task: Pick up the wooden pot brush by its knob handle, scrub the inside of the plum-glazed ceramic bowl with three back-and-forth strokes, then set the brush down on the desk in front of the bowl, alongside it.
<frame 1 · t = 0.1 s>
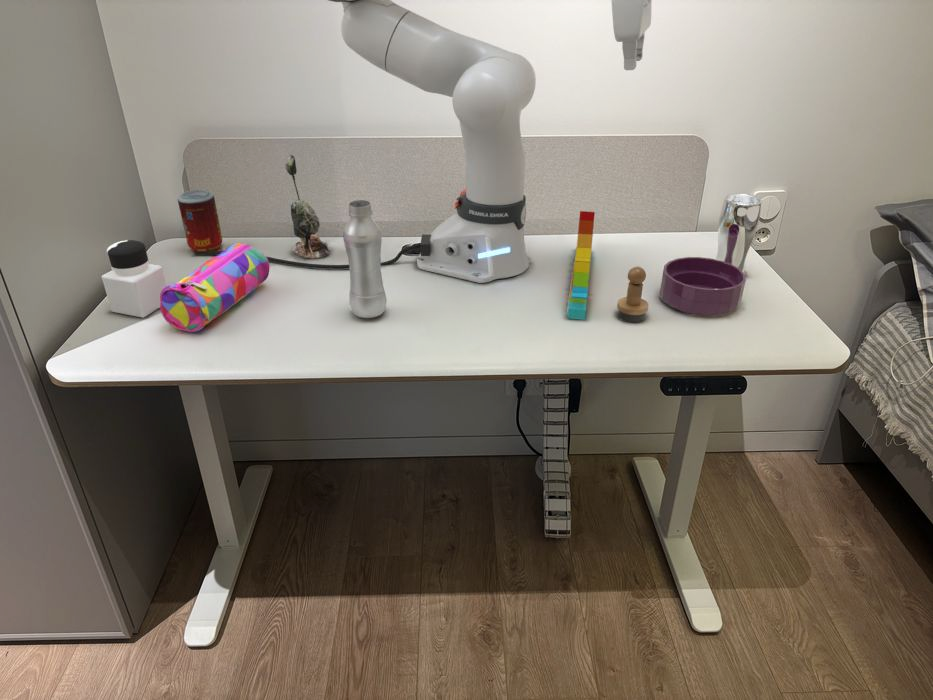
hand: (633, 64, 114), 39 cm above the table, tool pointing down, fingers open, 8 cm apart
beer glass: (727, 274, 137), on the table
bowl: (698, 300, 126), on the table
plant with pod: (311, 254, 146), on the table
medicine bottle: (141, 307, 125), on the table
soda can: (206, 250, 147), on the table
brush: (631, 316, 121), on the table
pencil case: (222, 309, 124), on the table
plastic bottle: (369, 314, 122), on the table
chart: (579, 283, 133), on the table
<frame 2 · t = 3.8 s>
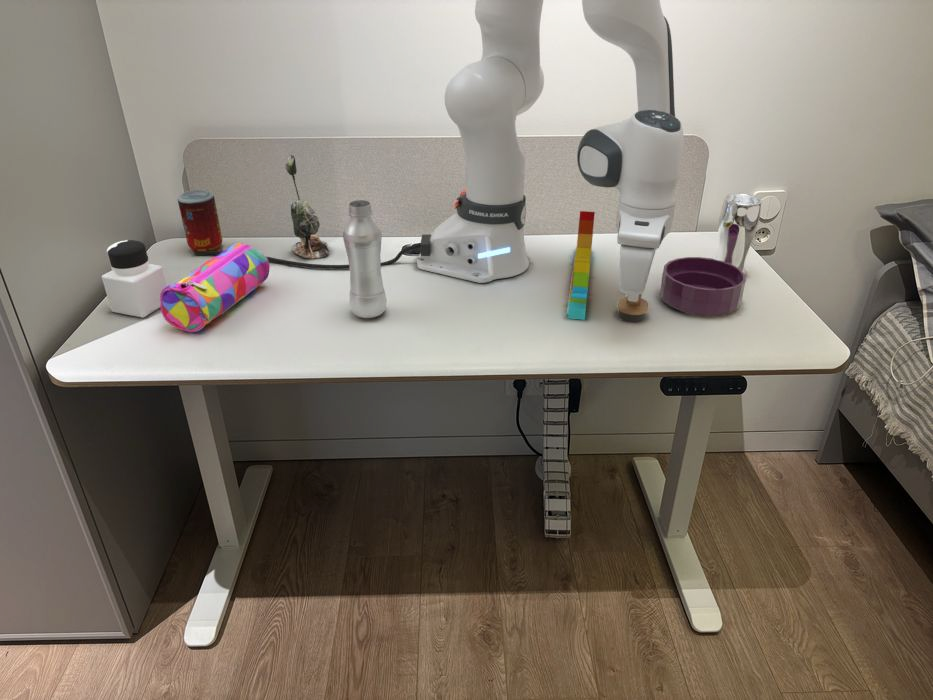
hand: (634, 295, 119), 4 cm above the table, tool pointing down, fingers closed on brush, 2 cm apart
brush: (631, 316, 121), on the table, touching gripper
everything else where it was.
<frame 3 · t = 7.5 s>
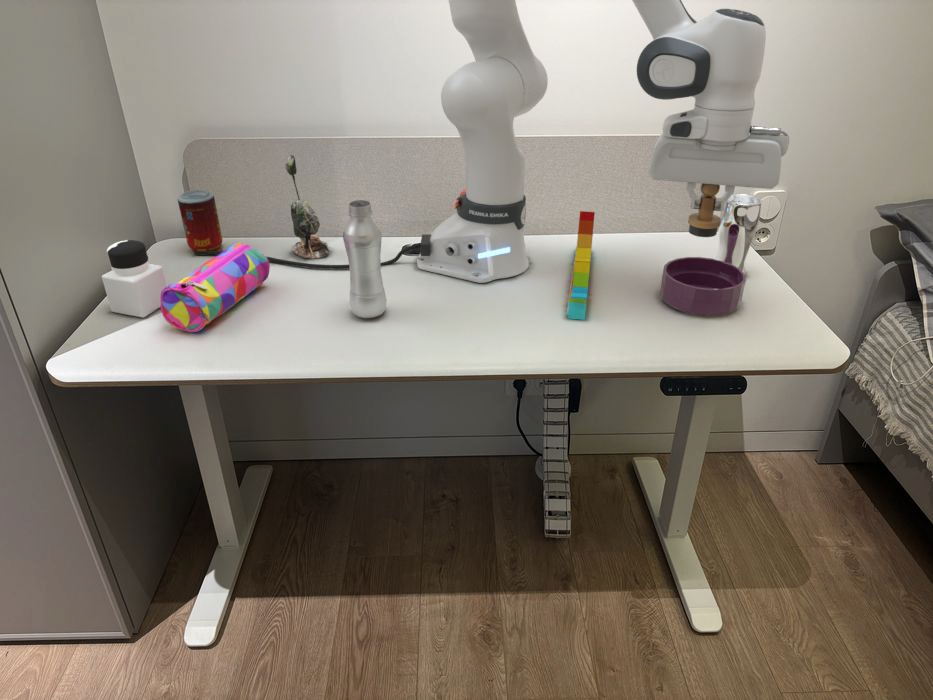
hand: (706, 209, 116), 18 cm above the table, tool pointing down, fingers closed on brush, 2 cm apart
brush: (702, 232, 118), point 14 cm above the table, touching gripper
everything else where it was.
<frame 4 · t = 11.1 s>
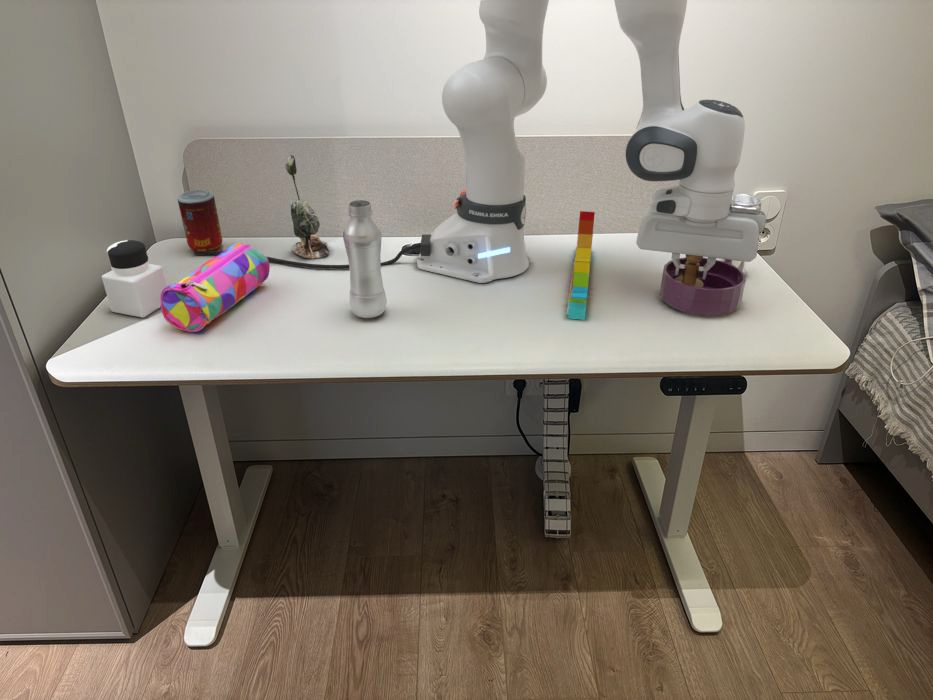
hand: (689, 276, 125), 4 cm above the table, tool pointing down, fingers closed on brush, 2 cm apart
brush: (685, 295, 127), point 1 cm above the table, touching gripper
everything else where it was.
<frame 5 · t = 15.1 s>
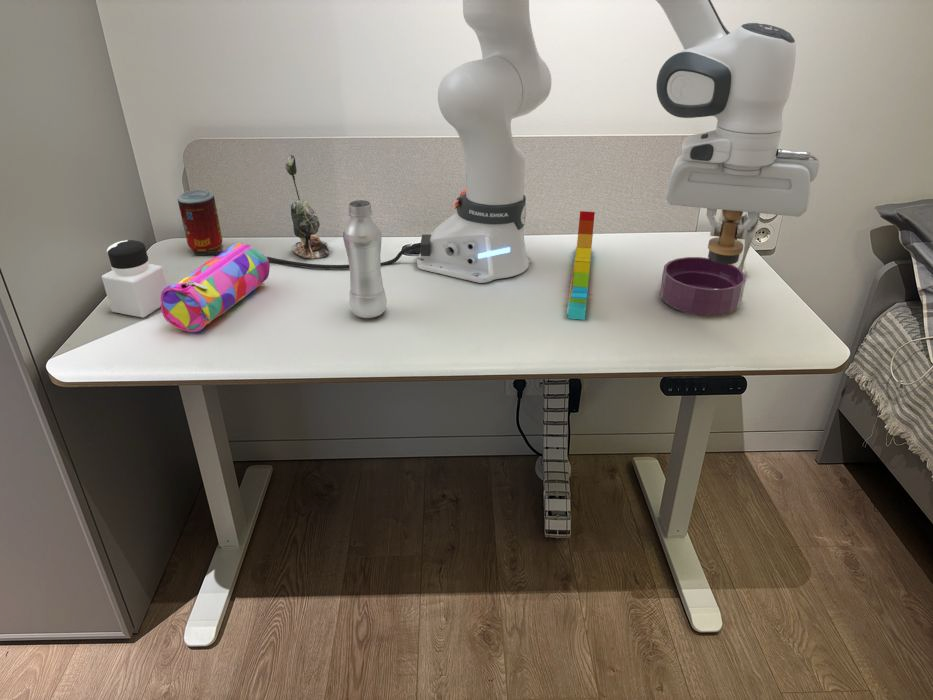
hand: (727, 236, 108), 17 cm above the table, tool pointing down, fingers closed on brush, 2 cm apart
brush: (722, 258, 110), point 13 cm above the table, touching gripper
everything else where it was.
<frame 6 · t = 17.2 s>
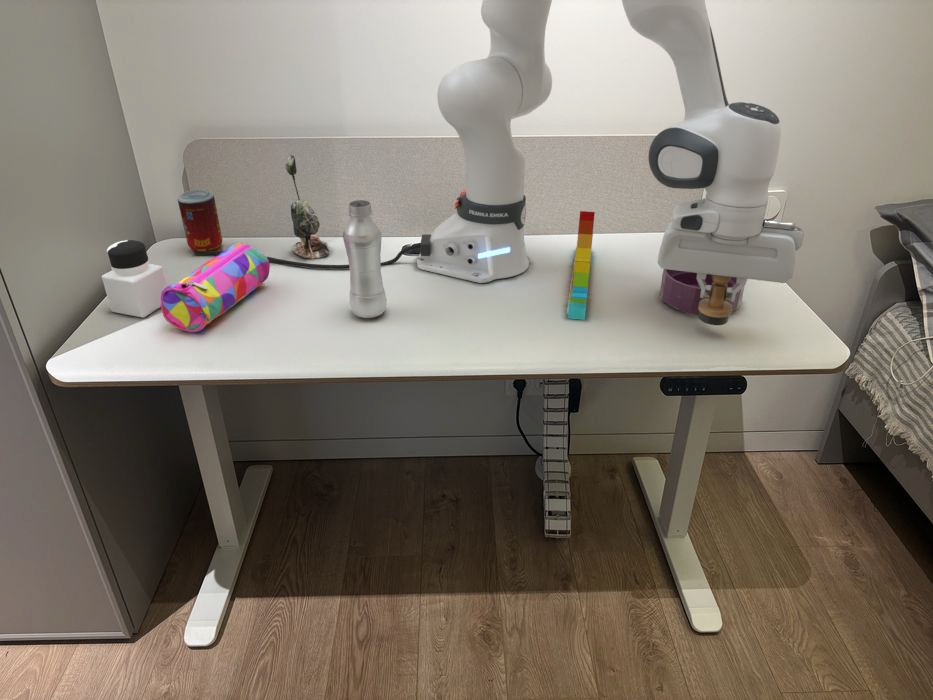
hand: (716, 298, 113), 6 cm above the table, tool pointing down, fingers closed on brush, 2 cm apart
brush: (712, 318, 114), point 3 cm above the table, touching gripper
everything else where it was.
when the fingers open (4 cm above the table, at t = 18.3 s): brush stays where it is, on the table.
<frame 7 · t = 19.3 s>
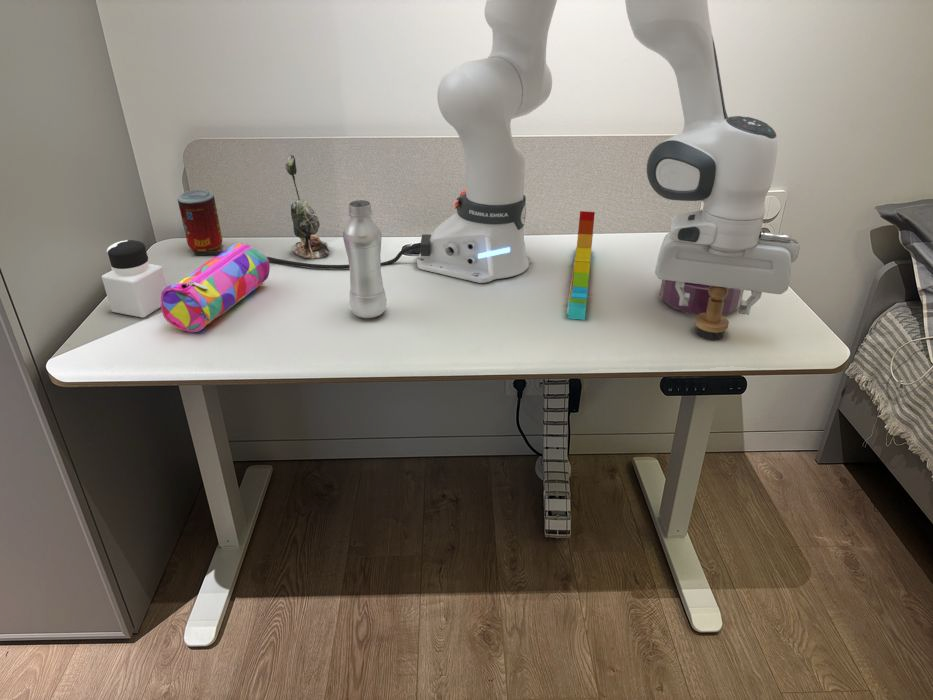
hand: (713, 308, 114), 5 cm above the table, tool pointing down, fingers open, 8 cm apart
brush: (709, 333, 116), on the table
everything else where it was.
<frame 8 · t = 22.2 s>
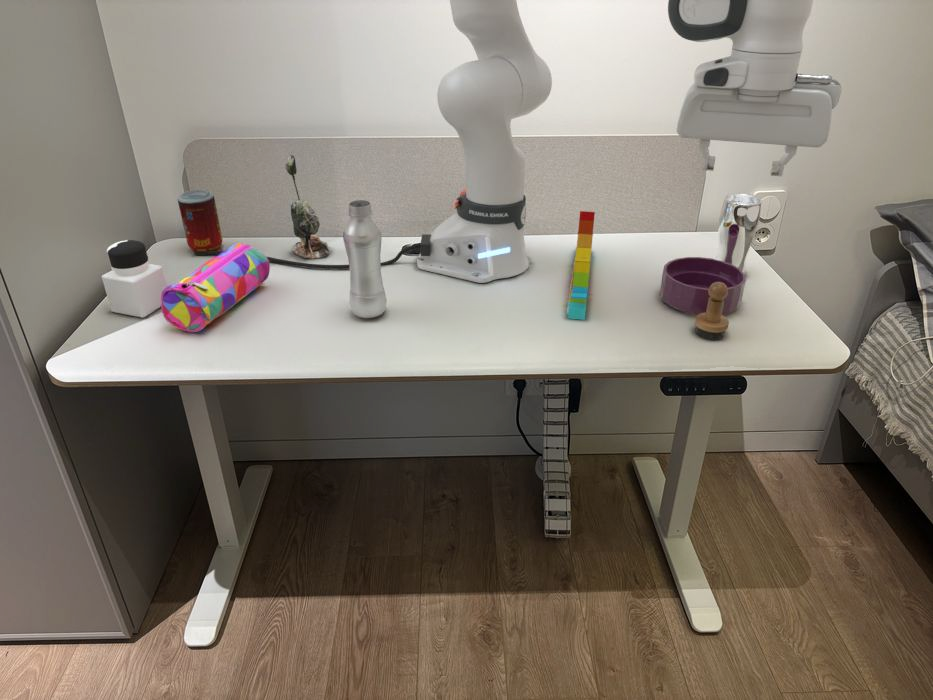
hand: (741, 172, 102), 27 cm above the table, tool pointing down, fingers open, 8 cm apart
nothing on the table moved.
at the end: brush 0.1 cm from the target spot, on the table; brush tilted 0°; the gripper is holding nothing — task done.
